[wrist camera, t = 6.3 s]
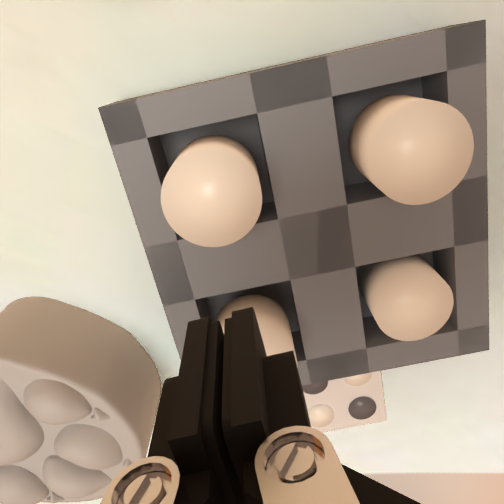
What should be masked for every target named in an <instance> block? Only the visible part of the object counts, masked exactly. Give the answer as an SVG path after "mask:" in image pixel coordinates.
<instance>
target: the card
mask: <svg viewBox="0 0 504 504" xmlns="http://www.w3.org/2000/svg"><path fill="white" fill-rule="evenodd" d="M302 388H303V393H304V397H305V401H306V406H307V410H308V415H309V420H310V424H311V428H314V429H317V430H319V431H320V432H328V431H333V430H338V429H344V428H349V427H354V426H360V425H365V424H371V423H376V422H381V421H387V419H386V411H385V403H384V395H383V387H382V379H381V371H376V372H371V373H366V374H360V375H355V376H350V377H345V378H340V379H334V380H329V381H324V382H319V383H314V384H308V385H303V386H302Z"/></svg>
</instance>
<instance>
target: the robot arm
mask: <svg viewBox="0 0 504 504" xmlns="http://www.w3.org/2000/svg"><path fill="white" fill-rule="evenodd" d="M100 504H420V503H418V502H416V501H414V500H412V499H410V498H408V497H406V496H404V495H402V494H400V493H398V492H396V491H394V490H392V489H390V488H388V487H386V486H384V485H382V484H380V483H378V482H376V481H374V480H372V479H370V478H368V477H366V476H364V475H362V474H360V473H358V472H356V471H354V470H352V469H350V468H348V467H346V466H344V465H342V464H341V463H340V460H339V458H338V456H337V454H336V452H335V450H334V448H333V446H332V444H331V442H330V441H329V439H328V438H327V437H326V435H325V434H323V433H322V432H320V431H319V430H317V429H314V428H311V424H310V420H309V415H308V410H307V406H306V401H305V397H304V393H303V388H302V384H301V380H300V376H299V372H298V368H297V364H296V360H295V356H294V352H293V351H288V352H284V353H279V354H275V355H271V356H267V355H266V351H265V347H264V344H263V340H262V336H261V333H260V329H259V325H258V322H257V318H256V314H255V311H254V308H253V307H250V308H245V309H241V310H237V311H232V317H231V318H227V319H225V325H224V333H223V329H222V326H221V323H220V321H219V320H218V321H214V322H212V320H211V318H210V317H206V318H202V319H198V320H193V321H189V322H188V324H187V330H186V336H185V342H184V347H183V353H182V359H181V365H180V370H179V376H177V377H173V378H168V379H166V380H165V382H164V384H163V389H162V393H161V398H160V403H159V407H158V412H157V416H156V421H155V426H154V430H153V435H152V440H151V444H150V449H149V453H148V457H147V458H143V459H141V460H138V461H136V462H134V463H132V464H130V465H129V466H128V467H126V468H125V469H123V470H122V471H121V472H120V473H119V474H118V475H117V476H116V477H115V478H114V479H113V480H112V482H111V484H110V485H109V487H108V489H107V490H106V492H105V494H104V497H103V499H102V501H101V503H100Z"/></svg>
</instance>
